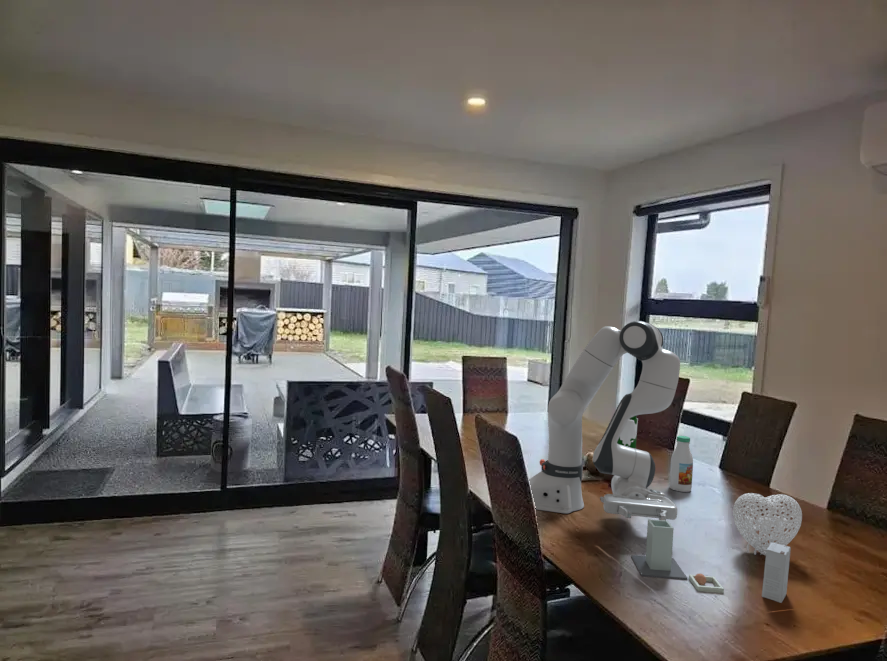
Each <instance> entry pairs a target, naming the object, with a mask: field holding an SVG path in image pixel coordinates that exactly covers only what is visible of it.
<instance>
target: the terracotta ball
mask: <svg viewBox="0 0 887 661" xmlns="http://www.w3.org/2000/svg"><path fill="white" fill-rule="evenodd" d="M694 575H695V580H696V581H697V583H698V584H699V585H700V586H705V584H706V583H707V581H706V577H705V576H706V575H704V573H696V574H694Z"/></svg>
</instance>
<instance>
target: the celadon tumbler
mask: <svg viewBox="0 0 887 661" xmlns="http://www.w3.org/2000/svg"><path fill="white" fill-rule="evenodd" d="M646 529H647V531H646V544H645V556H646V559H645V561H646V562H647V564H648V566H649V567H650V569H654V570H666V571H671V562H672V558H673V545H674V544H673V543H674V530H675V529H674V527H673V526H672V524H671V523H670V522H669V520H666V521H664V520H659V519H652V518H650V519H649V518H648V519H647V527H646Z"/></svg>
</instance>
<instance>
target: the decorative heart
mask: <svg viewBox="0 0 887 661" xmlns="http://www.w3.org/2000/svg"><path fill="white" fill-rule="evenodd" d="M732 509H733V510H732V516H733V517H732V518H733V521H734V525H735V527H736V529H737V531H738V532H739V534H740V536H742V538H743V539H744V540H745V541H746V542H747V543H748V544H746V553H747V554H749V553H750V546H751V547H753V555H754V556H755V555H757V551H758V552H759V553H760V554H759V555H760V556H761V555H764V556H765V557H766V550H767V548H768V547H769V545H770V544H771V542H772V543H777V544H781V545H785V546H788V544H790V543H791V541H792V540H794V538H795V537H796V536H797V535H798V532H799V531H800V528H801V526H802V522H803V521H802V520H803V513H802V512H803V511H802V508H801V506H800V504H799V502H797V500H795V499H794V498H793V497H791V496H789V495H787V494H783V493H781V494H779V493H778V494H771V495H769V496H766V497H764V496H763V495H762V494H760V493H753V492H748V493H744V494H741V495H740V496H738V498H737V499H736V500H735V502H734V504H733V508H732ZM766 509H767V510H766ZM762 514H763V515H762ZM758 531H759V533H757V532H758Z"/></svg>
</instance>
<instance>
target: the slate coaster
mask: <svg viewBox="0 0 887 661" xmlns="http://www.w3.org/2000/svg"><path fill="white" fill-rule="evenodd" d="M630 557H631V559H632V561H633V563H634V565H635V566H636V568H637V571H638V572H639V574H640V576H641V577H647V578H649V577H650V578H660V579H669V580H670V579H672V580H685V581H688V576H687V575H686V573H685V572H684V571H683V570H682V568H681V566H680V565H679V564H678V563H677V561H676V560H675V558H674V557H672V562H671V571H666V570H654V569H650V567H649V566H648V564H647V562H646V561H645V559H646V555H638V554H637V555H636V554H631V556H630Z"/></svg>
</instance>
